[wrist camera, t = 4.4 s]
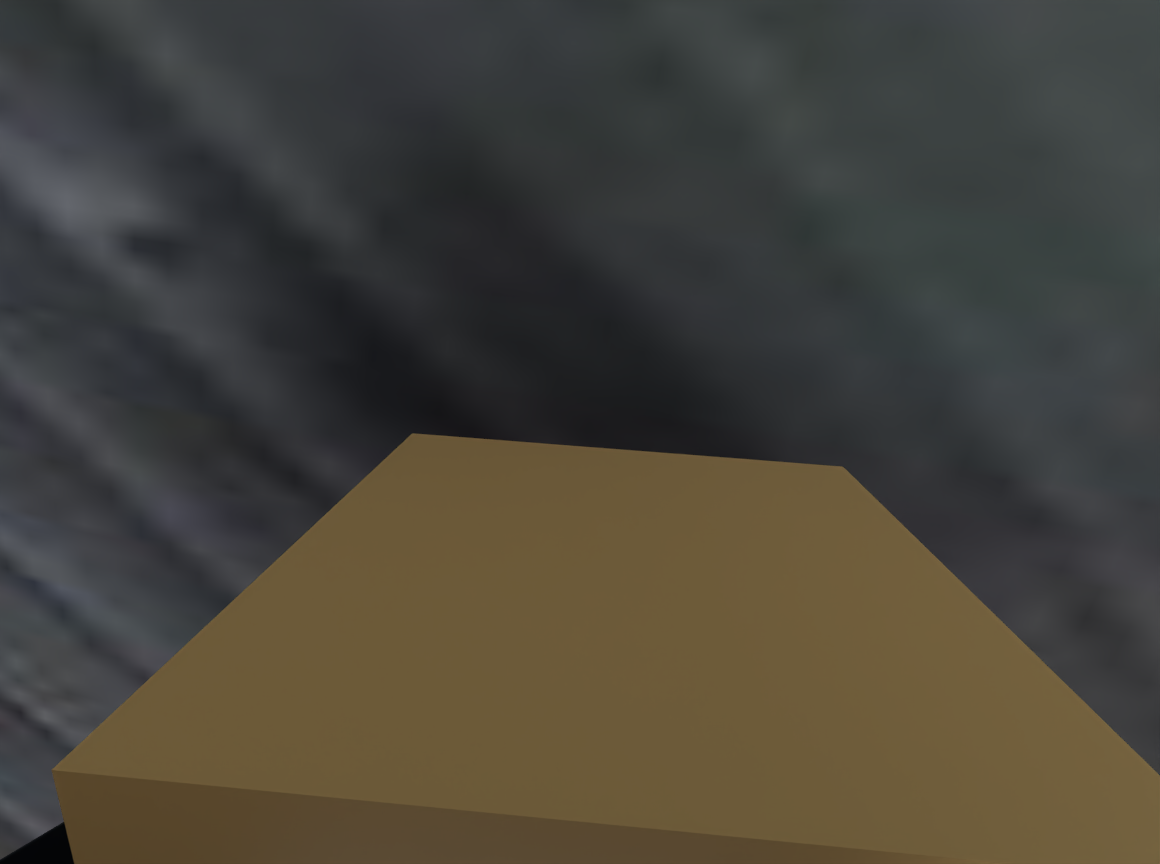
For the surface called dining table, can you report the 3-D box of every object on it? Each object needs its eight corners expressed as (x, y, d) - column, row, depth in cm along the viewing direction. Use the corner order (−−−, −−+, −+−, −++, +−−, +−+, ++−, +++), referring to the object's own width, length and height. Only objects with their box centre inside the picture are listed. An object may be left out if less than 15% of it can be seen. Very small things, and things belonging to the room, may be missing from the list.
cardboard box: (774, 804, 11) (963, 1467, 5) (418, 770, 11) (195, 1367, 5) (843, 467, 9) (1274, 888, 3) (412, 432, 9) (50, 770, 3)
